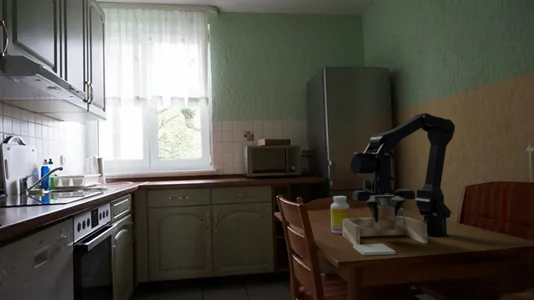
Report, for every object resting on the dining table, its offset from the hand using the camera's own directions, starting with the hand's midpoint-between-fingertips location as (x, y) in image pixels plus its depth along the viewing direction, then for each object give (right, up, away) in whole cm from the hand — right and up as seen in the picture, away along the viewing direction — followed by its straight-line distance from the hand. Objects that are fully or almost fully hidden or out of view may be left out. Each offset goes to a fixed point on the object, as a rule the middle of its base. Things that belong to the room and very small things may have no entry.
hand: (384, 222), depth 119 cm
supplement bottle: (-11, -7, +15) cm, 20 cm away
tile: (-7, -6, -12) cm, 15 cm away
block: (0, -2, 0) cm, 2 cm away
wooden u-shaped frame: (0, -6, 0) cm, 6 cm away
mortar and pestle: (+9, -7, +23) cm, 26 cm away
